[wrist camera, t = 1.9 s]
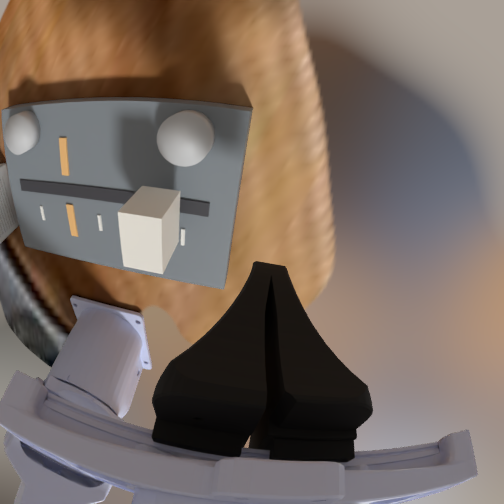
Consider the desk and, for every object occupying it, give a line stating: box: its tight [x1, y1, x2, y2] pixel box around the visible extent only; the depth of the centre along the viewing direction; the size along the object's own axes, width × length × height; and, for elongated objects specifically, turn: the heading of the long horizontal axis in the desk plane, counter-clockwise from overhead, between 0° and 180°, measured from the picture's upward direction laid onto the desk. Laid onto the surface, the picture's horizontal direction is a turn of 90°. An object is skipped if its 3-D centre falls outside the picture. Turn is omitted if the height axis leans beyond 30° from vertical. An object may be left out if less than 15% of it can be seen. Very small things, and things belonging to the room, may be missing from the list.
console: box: [2, 97, 253, 289], centre depth 17 cm, size 12×18×3 cm, turn 81°
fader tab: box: [118, 186, 180, 274], centre depth 15 cm, size 3×2×4 cm
